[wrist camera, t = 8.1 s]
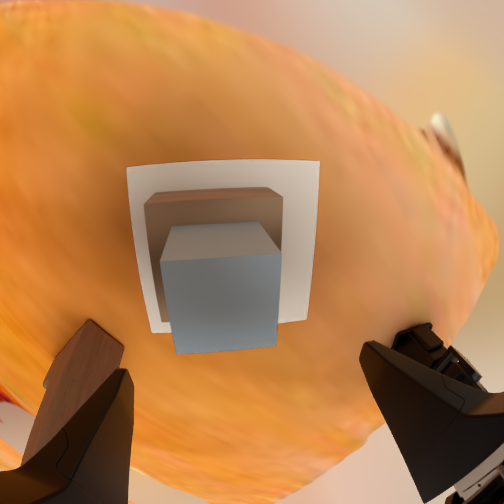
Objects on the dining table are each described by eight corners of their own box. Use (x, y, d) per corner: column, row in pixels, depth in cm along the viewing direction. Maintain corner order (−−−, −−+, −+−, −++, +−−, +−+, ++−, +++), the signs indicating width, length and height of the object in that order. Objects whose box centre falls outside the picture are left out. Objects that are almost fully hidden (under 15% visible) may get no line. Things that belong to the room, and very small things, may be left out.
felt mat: (305, 317, 25) (306, 319, 24) (152, 330, 22) (152, 333, 22) (317, 160, 20) (319, 161, 19) (127, 167, 17) (126, 167, 17)
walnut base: (265, 286, 22) (277, 313, 19) (166, 293, 21) (161, 322, 17) (267, 186, 19) (283, 196, 16) (155, 192, 18) (143, 204, 14)
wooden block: (85, 381, 24) (54, 520, 7) (54, 358, 22) (5, 495, 5) (126, 346, 23) (96, 529, 6) (89, 316, 21) (24, 498, 4)
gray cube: (257, 296, 18) (276, 345, 13) (180, 301, 17) (176, 354, 12) (258, 221, 16) (282, 253, 11) (171, 226, 15) (159, 261, 10)
